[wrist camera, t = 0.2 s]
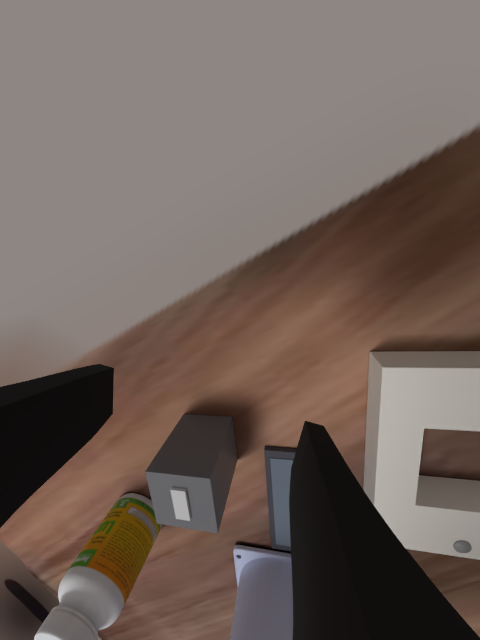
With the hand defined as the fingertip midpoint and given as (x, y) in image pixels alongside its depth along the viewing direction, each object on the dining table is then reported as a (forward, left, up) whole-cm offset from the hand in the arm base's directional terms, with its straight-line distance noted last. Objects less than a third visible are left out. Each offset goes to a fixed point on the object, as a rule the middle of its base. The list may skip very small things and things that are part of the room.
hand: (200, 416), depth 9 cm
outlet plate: (-9, -14, -10) cm, 19 cm away
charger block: (-10, +4, -10) cm, 15 cm away
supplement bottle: (-20, +13, -10) cm, 26 cm away
